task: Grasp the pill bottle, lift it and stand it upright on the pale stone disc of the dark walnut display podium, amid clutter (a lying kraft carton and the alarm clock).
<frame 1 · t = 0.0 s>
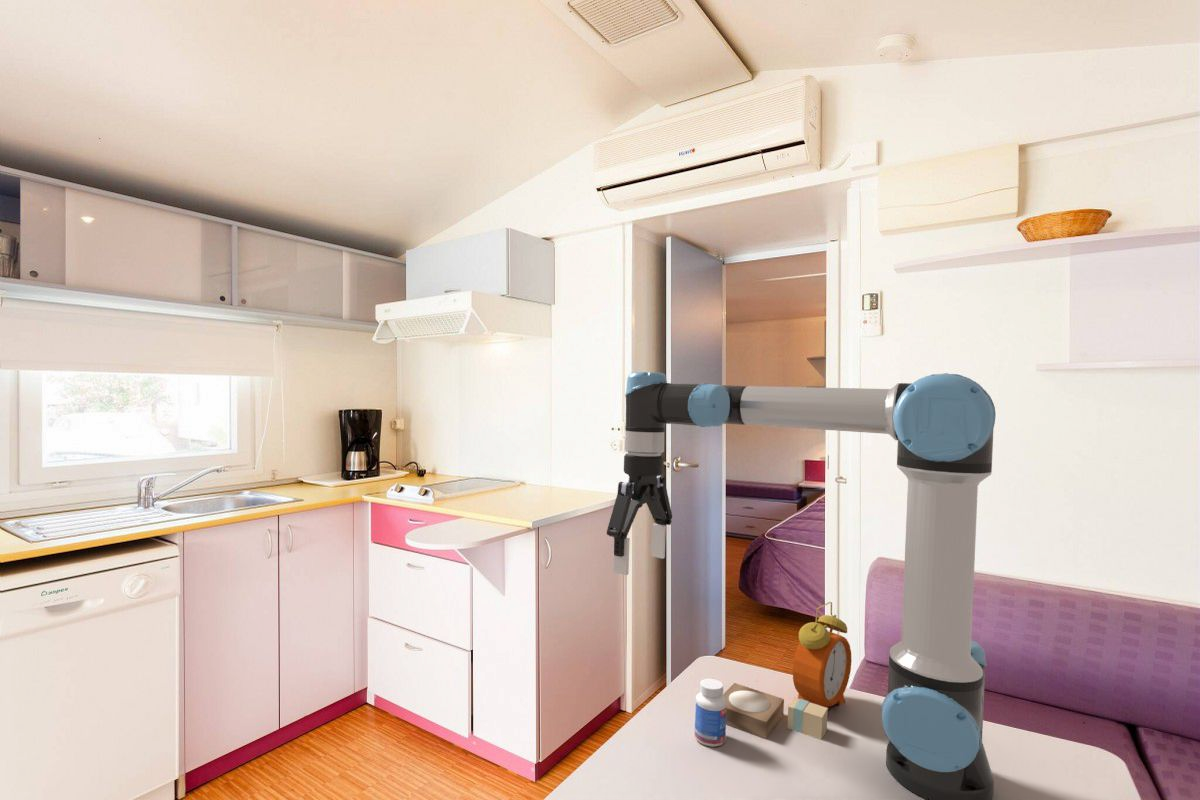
hand: (640, 565, 112), 28 cm above the table, fingers open, 13 cm apart
carton: (807, 728, 109), on the table
podium: (748, 717, 112), on the table
alarm clock: (821, 706, 117), on the table
pill bottle: (709, 739, 105), on the table
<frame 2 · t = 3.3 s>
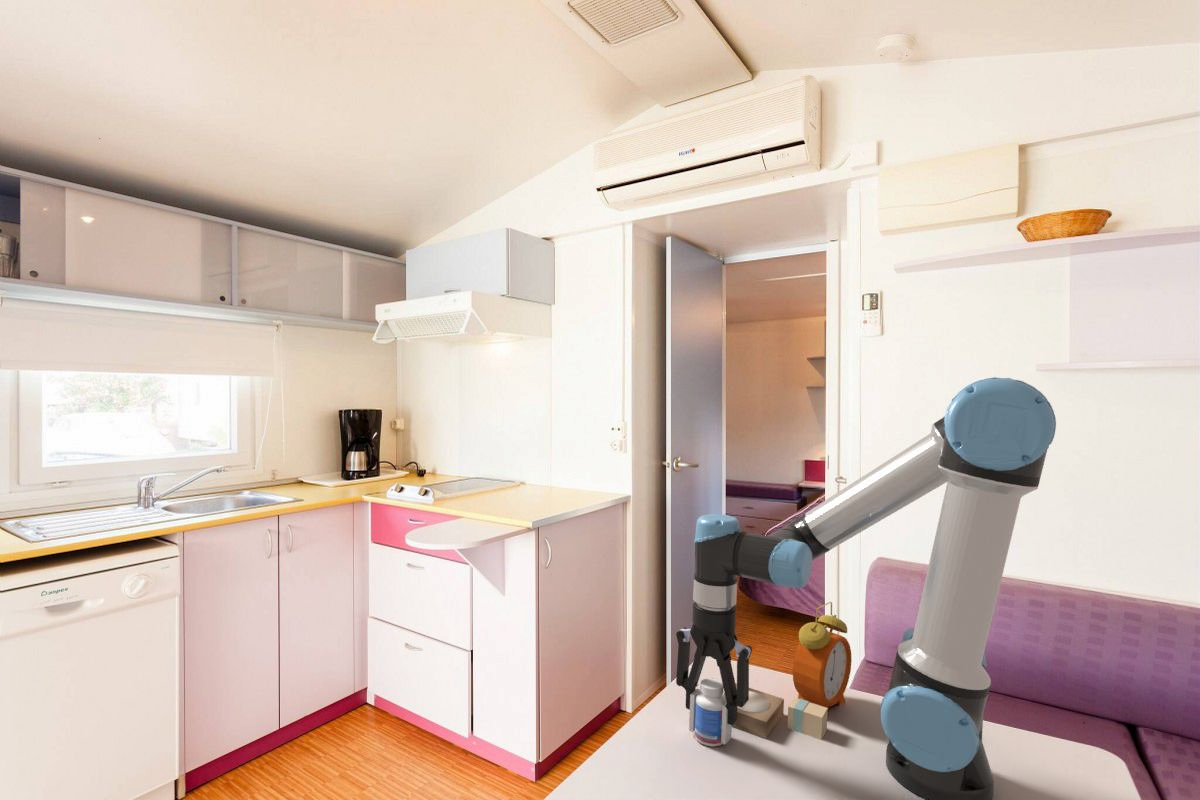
hand: (710, 733, 105), 1 cm above the table, fingers closed on pill bottle, 5 cm apart
pill bottle: (709, 739, 105), on the table, touching gripper
everything else where it was.
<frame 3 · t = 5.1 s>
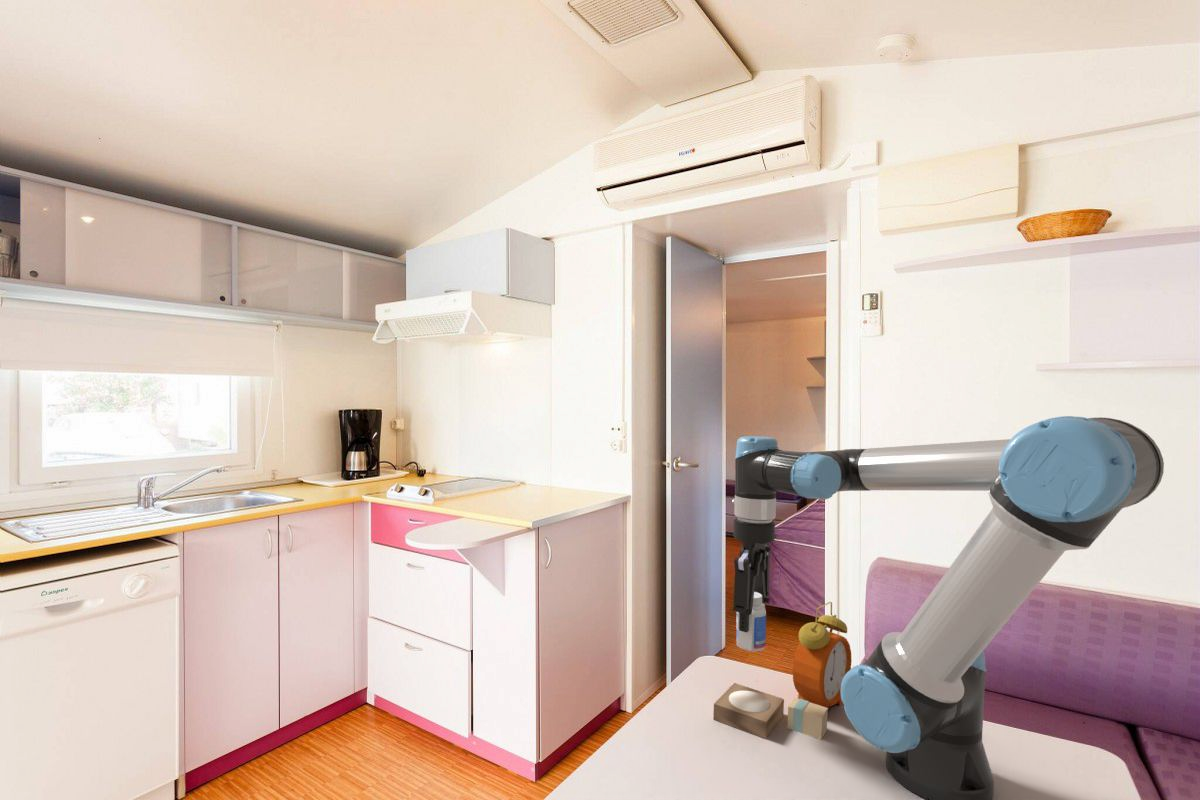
hand: (750, 641, 111), 15 cm above the table, fingers closed on pill bottle, 5 cm apart
pill bottle: (750, 647, 111), point 14 cm above the table, touching gripper
everything else where it was.
when the fingers open (5 cm above the table, at t = 7.2 s): pill bottle drops 1 cm, resting on podium.
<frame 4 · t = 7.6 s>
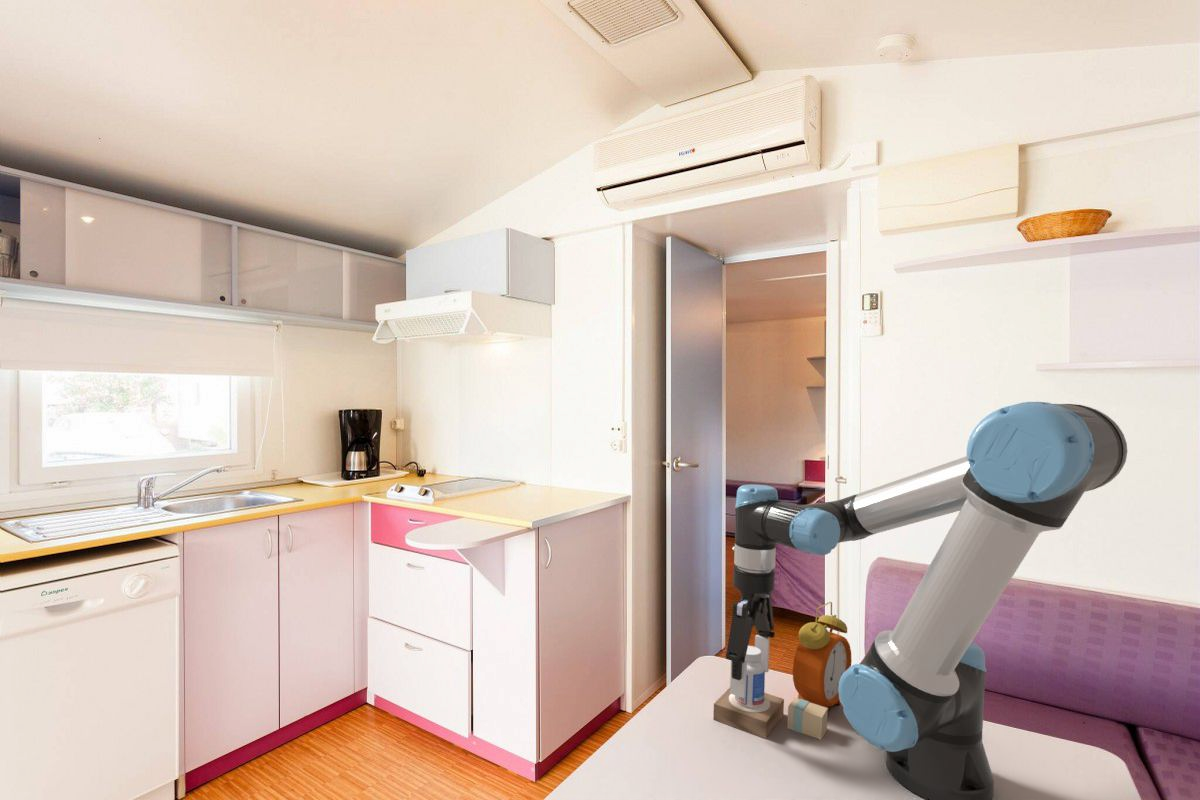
hand: (750, 681, 112), 7 cm above the table, fingers open, 11 cm apart
pill bottle: (749, 702, 112), point 3 cm above the table, touching podium
everything else where it was.
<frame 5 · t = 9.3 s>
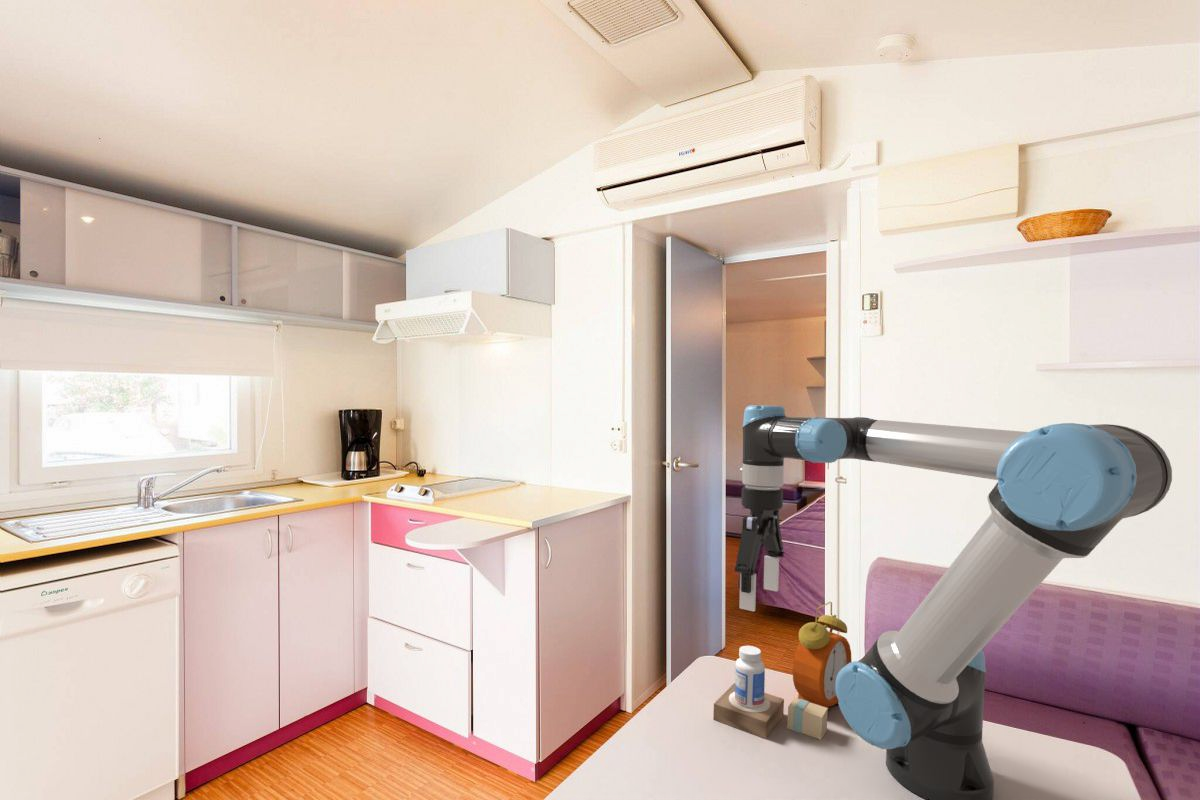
hand: (759, 599, 111), 22 cm above the table, fingers open, 13 cm apart
nothing on the table moved.
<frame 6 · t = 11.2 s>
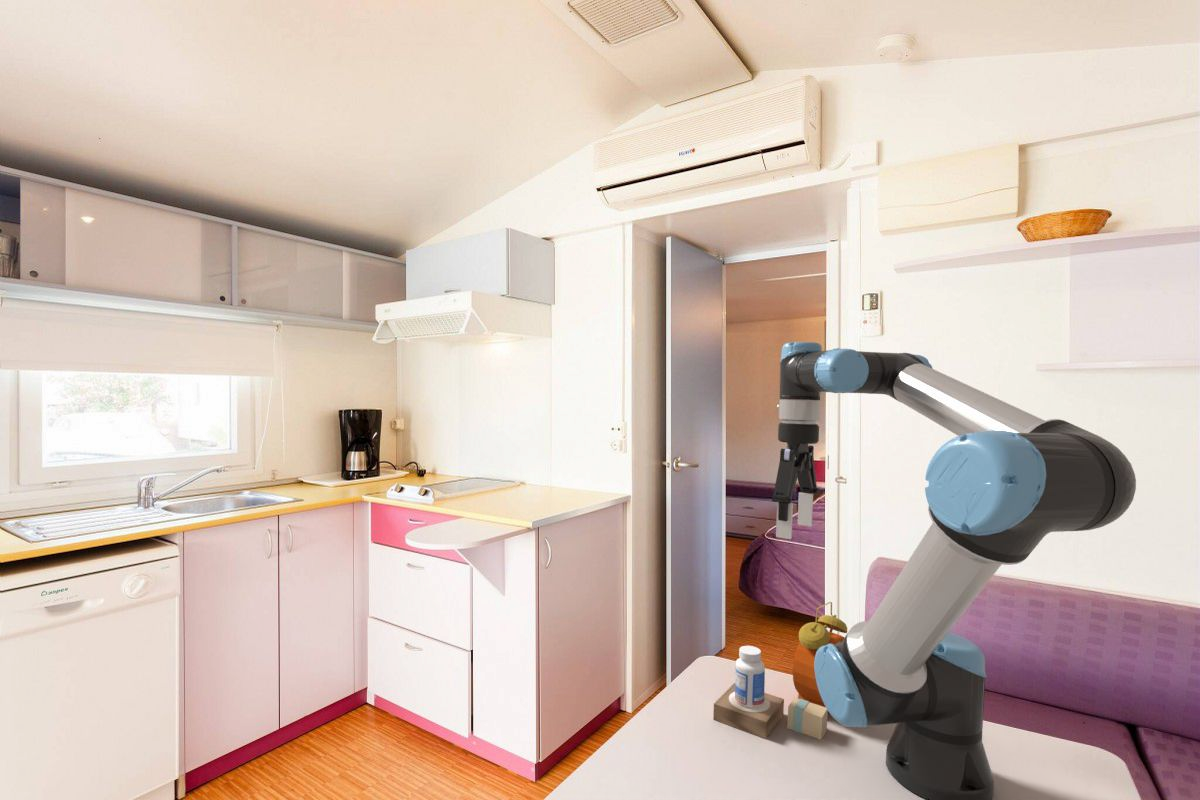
hand: (794, 531, 115), 35 cm above the table, fingers open, 13 cm apart
nothing on the table moved.
at the end: pill bottle inside the target area on the podium (0.2 cm from its centre), point 2.9 cm above the podium's base; pill bottle tilted 0°; the gripper is holding nothing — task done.
